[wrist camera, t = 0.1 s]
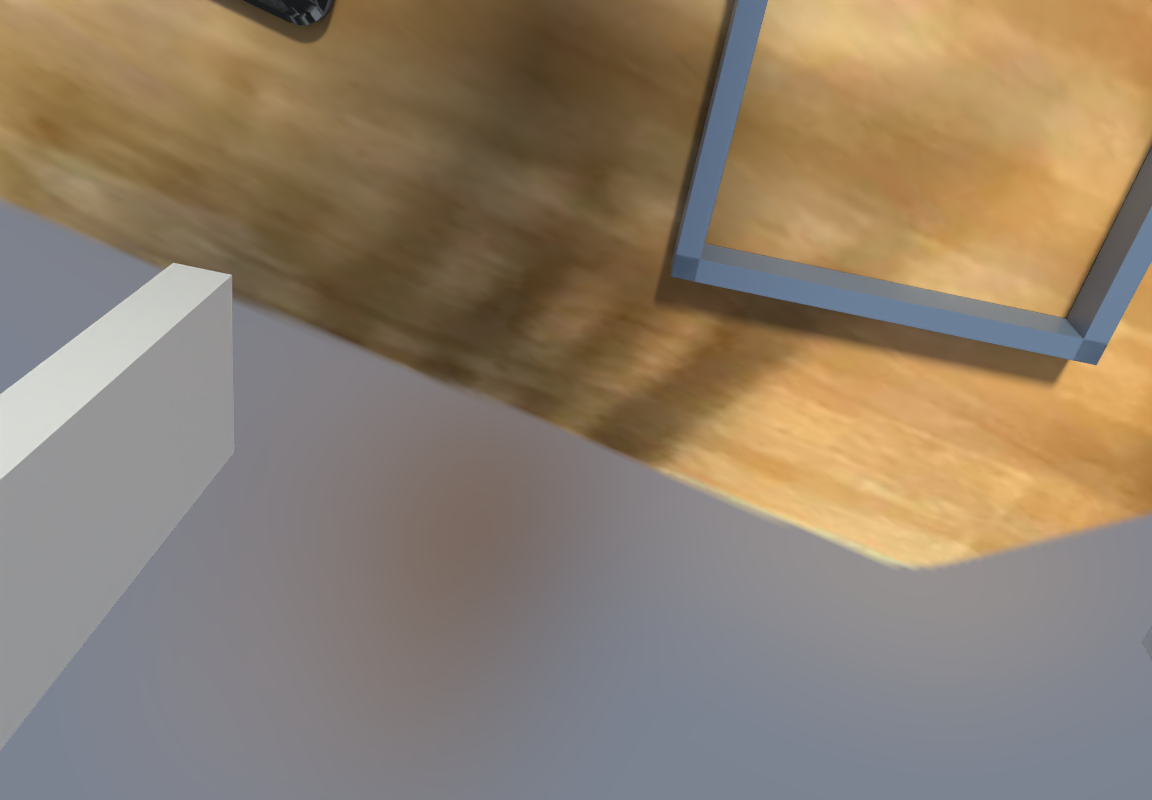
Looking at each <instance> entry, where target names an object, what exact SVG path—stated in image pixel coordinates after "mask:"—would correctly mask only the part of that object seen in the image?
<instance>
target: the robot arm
mask: <svg viewBox="0 0 1152 800" xmlns="http://www.w3.org/2000/svg"><path fill="white" fill-rule="evenodd" d="M232 307H233V306H232V275H230V274H225V273H220V272H215V271H210V270H206V269H201V268H196V267H191V266H186V265H182V264H177V263H172V264H171V265H170V266H168V267H167V268H166V269H164V270H163V271H162V272H161V273H159V274H158V275H157V276H155V277H154V278H153V279H151V280H150V281H149V282H148V283H146V284H145V285H143V286H142V287H141V288H140V289H138V290H137V291H136V292H134V293H133V294H132V295H130V296H129V297H128V298H126V299H125V300H124V301H123V302H121V303H120V304H118V305H117V306H116V307H115V308H113V309H112V310H111V311H109V312H108V313H107V314H105V315H104V316H103V317H101V318H100V319H99V320H98V321H96V322H95V323H93V324H92V325H91V326H90V327H88V328H87V329H86V330H84V331H83V332H82V333H81V334H79V335H78V336H77V337H75V338H74V339H72V340H71V341H70V342H69V343H67V344H66V345H65V346H63V347H62V348H61V349H59V350H58V351H57V352H55V353H54V354H53V355H52V356H50V357H49V358H48V359H46V360H45V361H44V362H42V363H41V364H40V365H38V366H37V367H36V368H34V369H33V370H32V371H30V372H29V373H28V374H26V375H25V376H24V377H22V378H21V379H20V380H19V381H17V382H16V383H15V384H13V385H12V386H11V387H9V388H8V389H7V390H5V391H4V392H3V393H2V394H0V750H1V749H2V748H3V746H4V745H5V744H6V743H7V741H8V740H9V739H10V737H11V736H12V735H13V734H14V732H15V731H16V730H17V729H18V727H19V726H20V725H21V724H22V722H23V721H24V720H25V719H26V717H27V716H28V715H29V713H30V712H31V711H32V710H33V708H34V707H35V706H36V704H37V703H38V702H39V701H40V699H41V698H42V697H43V696H44V694H45V693H46V692H47V690H48V689H49V688H50V687H51V685H52V684H53V683H54V682H55V680H56V679H57V678H58V676H59V675H60V674H61V673H62V671H63V670H64V669H65V668H66V666H67V665H68V664H69V662H70V661H71V660H72V659H73V657H74V656H75V654H76V653H77V652H78V651H79V650H80V648H81V647H82V646H83V645H84V643H85V642H86V641H87V640H88V638H89V637H90V636H91V634H92V633H93V632H94V630H95V629H96V628H97V627H98V625H99V624H100V623H101V622H102V620H103V619H104V618H105V616H106V615H107V614H108V613H109V611H110V610H111V609H112V608H113V606H114V605H115V603H117V601H118V600H119V599H120V598H121V596H122V595H123V594H124V592H125V591H126V590H127V588H128V587H129V586H130V585H131V583H132V582H133V581H134V580H135V578H136V577H137V576H138V575H139V573H140V572H141V571H142V569H143V568H144V567H145V566H146V564H147V563H148V562H149V561H150V559H151V558H152V557H153V555H154V554H155V553H156V552H157V550H158V549H159V548H160V547H161V545H162V544H163V543H164V541H165V540H166V539H167V538H168V536H169V535H170V534H171V533H172V531H173V530H174V529H175V527H176V526H177V525H178V524H179V522H180V521H181V520H182V518H183V517H184V516H185V514H186V513H187V512H188V511H189V509H190V508H191V507H192V506H193V505H194V503H195V502H196V501H197V499H198V498H199V497H200V495H201V494H202V493H203V492H204V491H205V489H206V488H207V487H208V485H209V484H210V483H211V482H212V480H213V479H214V478H215V477H216V475H217V474H218V473H219V471H220V470H221V469H222V467H223V466H224V465H225V464H226V462H227V461H228V460H229V459H230V457H231V456H232V455H233V454H234V452H235V423H234V370H233V369H234V367H233V366H234V365H233V308H232ZM1142 644H1143V646H1144V647H1145V649H1146V651H1147V652H1148V654H1149V656H1150V658H1151V659H1152V627H1151V628H1150V630H1149V631H1148V633H1147V634H1146V636H1145V637H1144V639H1143V640H1142Z"/></svg>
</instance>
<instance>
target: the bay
mask: <svg viewBox="0 0 1152 800" xmlns="http://www.w3.org/2000/svg"><path fill="white" fill-rule="evenodd" d="M767 1H768V0H735V2H734V7H733V11H732V15H731V19H730V23H729V27H728V31H727V35H726V39H725V43H724V47H723V52H722V56H721V60H720V64H719V68H718V72H717V76H716V80H715V84H714V88H713V92H712V97H711V101H710V105H709V109H708V113H707V117H706V121H705V125H704V129H703V133H702V138H701V142H700V146H699V150H698V154H697V158H696V162H695V166H694V170H693V174H692V178H691V183H690V187H689V191H688V195H687V199H686V203H685V207H684V211H683V215H682V219H681V223H680V228H679V232H678V236H677V240H676V244H675V248H674V252H673V256H672V264H671V277H675V278H680V279H685V280H689V281H694V282H699V283H704V284H709V285H713V286H718V287H723V288H728V289H733V290H737V291H742V292H747V293H752V294H757V295H761V296H766V297H771V298H776V299H781V300H786V301H790V302H795V303H800V304H805V305H810V306H814V307H819V308H824V309H829V310H834V311H838V312H843V313H848V314H853V315H858V316H862V317H867V318H872V319H877V320H882V321H887V322H891V323H896V324H901V325H906V326H911V327H915V328H920V329H925V330H930V331H935V332H939V333H944V334H949V335H954V336H959V337H963V338H968V339H973V340H978V341H983V342H987V343H992V344H997V345H1002V346H1007V347H1012V348H1016V349H1021V350H1026V351H1031V352H1036V353H1040V354H1045V355H1050V356H1055V357H1060V358H1064V359H1069V360H1074V361H1079V362H1084V363H1088V364H1093V365H1097V363H1098V361H1099V359H1100V358H1101V356H1102V354H1103V352H1104V350H1105V348H1106V346H1107V344H1108V342H1109V341H1110V339H1111V337H1112V335H1113V333H1114V331H1115V329H1116V327H1117V325H1118V324H1119V322H1120V320H1121V318H1122V316H1123V314H1124V312H1125V310H1126V308H1127V307H1128V305H1129V303H1130V301H1131V299H1132V297H1133V295H1134V293H1135V291H1136V290H1137V288H1138V286H1139V284H1140V282H1141V280H1142V278H1143V276H1144V274H1145V273H1146V271H1147V269H1148V267H1149V265H1150V263H1151V261H1152V148H1151V150H1150V152H1149V154H1148V156H1147V158H1146V160H1145V162H1144V164H1143V166H1142V168H1141V170H1140V172H1139V174H1138V176H1137V178H1136V180H1135V182H1134V184H1133V186H1132V188H1131V190H1130V192H1129V194H1128V196H1127V198H1126V200H1125V202H1124V204H1123V206H1122V208H1121V210H1120V212H1119V214H1118V216H1117V218H1116V220H1115V222H1114V224H1113V226H1112V228H1111V230H1110V232H1109V234H1108V236H1107V238H1106V240H1105V242H1104V244H1103V246H1102V248H1101V250H1100V252H1099V254H1098V256H1097V258H1096V261H1095V263H1094V265H1093V267H1092V269H1091V271H1090V273H1089V275H1088V277H1087V279H1086V281H1085V283H1084V285H1083V287H1082V289H1081V291H1080V293H1079V295H1078V297H1077V299H1076V301H1075V303H1074V305H1073V307H1072V309H1071V311H1070V313H1069V315H1068V317H1067V318H1062V317H1057V316H1052V315H1047V314H1043V313H1038V312H1033V311H1028V310H1023V309H1018V308H1014V307H1009V306H1004V305H999V304H994V303H990V302H985V301H980V300H975V299H970V298H966V297H961V296H956V295H951V294H946V293H941V292H937V291H932V290H927V289H922V288H917V287H913V286H908V285H903V284H898V283H893V282H888V281H884V280H879V279H874V278H869V277H864V276H860V275H855V274H850V273H845V272H840V271H835V270H831V269H826V268H821V267H816V266H811V265H807V264H802V263H797V262H792V261H787V260H783V259H778V258H773V257H768V256H763V255H758V254H754V253H749V252H744V251H739V250H734V249H730V248H725V247H720V246H715V245H710V244H705V239H706V235H707V231H708V227H709V224H710V220H711V216H712V212H713V208H714V204H715V201H716V197H717V193H718V189H719V185H720V181H721V178H722V174H723V170H724V166H725V162H726V158H727V155H728V151H729V147H730V143H731V139H732V135H733V132H734V128H735V124H736V120H737V116H738V112H739V109H740V105H741V101H742V97H743V93H744V90H745V86H746V82H747V78H748V74H749V70H750V67H751V63H752V59H753V55H754V51H755V47H756V44H757V40H758V36H759V32H760V28H761V24H762V21H763V17H764V13H765V9H766V5H767Z"/></svg>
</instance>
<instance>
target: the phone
mask: <svg viewBox="0 0 1152 800" xmlns="http://www.w3.org/2000/svg"><path fill="white" fill-rule="evenodd" d="M244 1H246V2H248V3H250V4H252V5H254V6H257V7H259V8H261V9H263V10H265V11H267V12H269V13H271V14H273V15H275V16H277V17H280V18H282V19H284V20H286V21H288V22H290V23H293V24H297V25H309V24H312V23H314V22H317V21H319V20H321V19H323V18H324V17H325V16H326V15H327V14H328V13H329V11H330V9H331V7H332V5H333V1H334V0H244Z"/></svg>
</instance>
